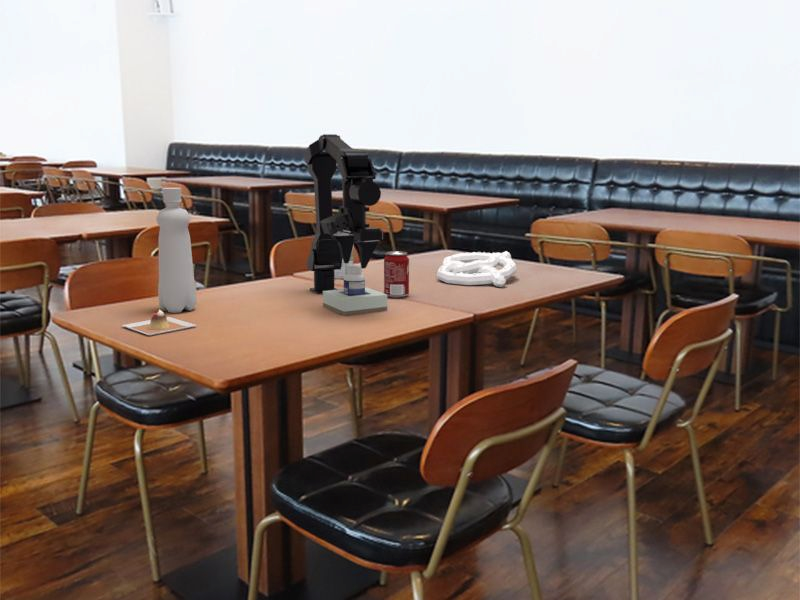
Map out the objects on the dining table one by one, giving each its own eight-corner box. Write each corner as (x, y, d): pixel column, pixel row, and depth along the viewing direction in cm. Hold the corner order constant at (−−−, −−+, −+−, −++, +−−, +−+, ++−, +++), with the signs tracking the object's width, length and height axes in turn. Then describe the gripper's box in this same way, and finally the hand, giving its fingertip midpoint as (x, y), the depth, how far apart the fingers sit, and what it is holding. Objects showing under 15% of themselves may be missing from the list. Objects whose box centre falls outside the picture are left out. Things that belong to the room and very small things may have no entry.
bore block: (323, 306, 197) (322, 291, 196) (364, 301, 203) (364, 286, 202) (344, 315, 187) (344, 299, 186) (387, 310, 193) (387, 294, 192)
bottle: (184, 304, 198) (178, 186, 192) (204, 309, 192) (198, 188, 186) (152, 309, 192) (144, 188, 186) (171, 315, 186) (164, 190, 180)
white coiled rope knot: (514, 293, 222) (514, 272, 220) (433, 293, 227) (432, 272, 225) (520, 265, 248) (519, 246, 246) (446, 265, 253) (446, 246, 251)
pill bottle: (343, 302, 197) (343, 264, 195) (364, 302, 198) (364, 264, 196) (343, 306, 192) (343, 268, 190) (365, 306, 192) (365, 268, 190)
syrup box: (337, 275, 242) (336, 229, 239) (354, 276, 240) (353, 230, 237) (328, 278, 236) (328, 231, 233) (346, 279, 234) (346, 232, 231)
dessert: (121, 329, 174) (120, 309, 173) (169, 321, 183) (168, 301, 182) (148, 339, 166) (147, 317, 165) (197, 329, 175) (196, 309, 174)
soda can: (406, 299, 206) (406, 254, 204) (381, 298, 208) (381, 254, 205) (410, 294, 213) (411, 251, 210) (386, 293, 214) (387, 250, 212)
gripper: (308, 201, 193) (309, 263, 196) (342, 207, 178) (342, 273, 181) (348, 199, 199) (348, 259, 202) (384, 205, 183) (384, 270, 186)
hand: (354, 265), depth 193 cm, fingers open, 9 cm apart
